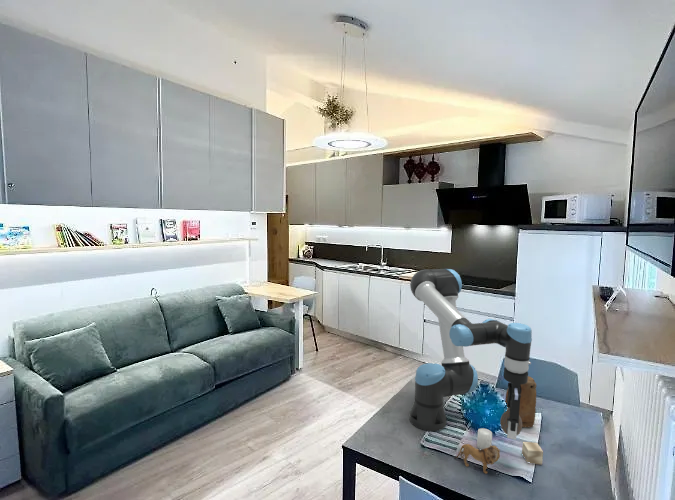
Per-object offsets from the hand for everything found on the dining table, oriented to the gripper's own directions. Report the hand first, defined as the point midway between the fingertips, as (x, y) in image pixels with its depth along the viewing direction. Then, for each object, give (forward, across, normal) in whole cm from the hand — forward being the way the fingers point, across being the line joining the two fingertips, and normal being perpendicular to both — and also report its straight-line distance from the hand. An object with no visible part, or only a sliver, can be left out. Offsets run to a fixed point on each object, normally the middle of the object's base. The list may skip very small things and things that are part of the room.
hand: (510, 432), depth 132 cm
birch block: (+12, +6, -8) cm, 15 cm away
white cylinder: (+12, +7, +8) cm, 16 cm away
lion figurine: (+12, -6, +10) cm, 17 cm away
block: (+12, +30, -6) cm, 33 cm away
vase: (0, 0, 0) cm, 0 cm away
